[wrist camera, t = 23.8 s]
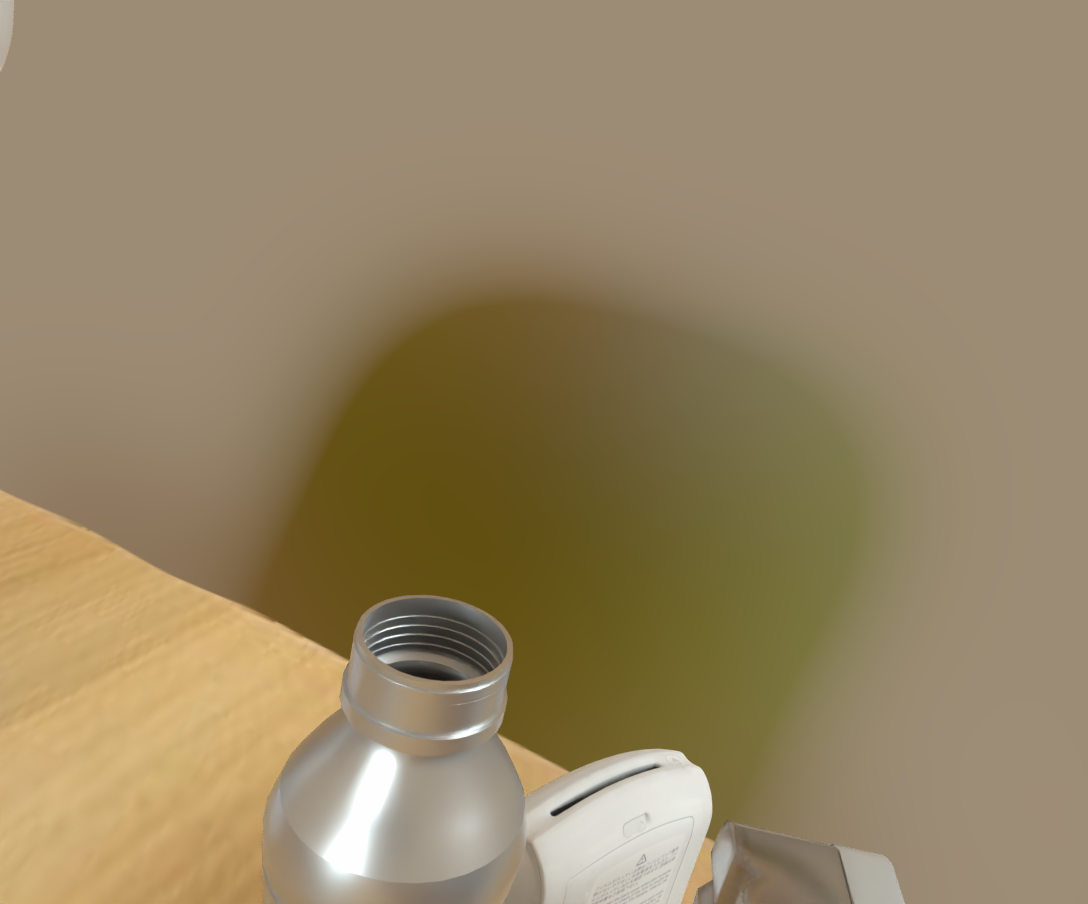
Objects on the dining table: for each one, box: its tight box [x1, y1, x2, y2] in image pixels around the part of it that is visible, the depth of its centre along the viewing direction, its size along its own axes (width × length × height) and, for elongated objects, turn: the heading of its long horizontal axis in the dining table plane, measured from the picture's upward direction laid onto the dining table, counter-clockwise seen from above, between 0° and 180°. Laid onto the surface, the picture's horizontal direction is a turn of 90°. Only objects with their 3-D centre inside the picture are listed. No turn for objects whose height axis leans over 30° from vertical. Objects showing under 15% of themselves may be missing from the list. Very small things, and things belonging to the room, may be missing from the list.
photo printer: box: [503, 749, 712, 904], centre depth 40 cm, size 10×4×12 cm, turn 130°
